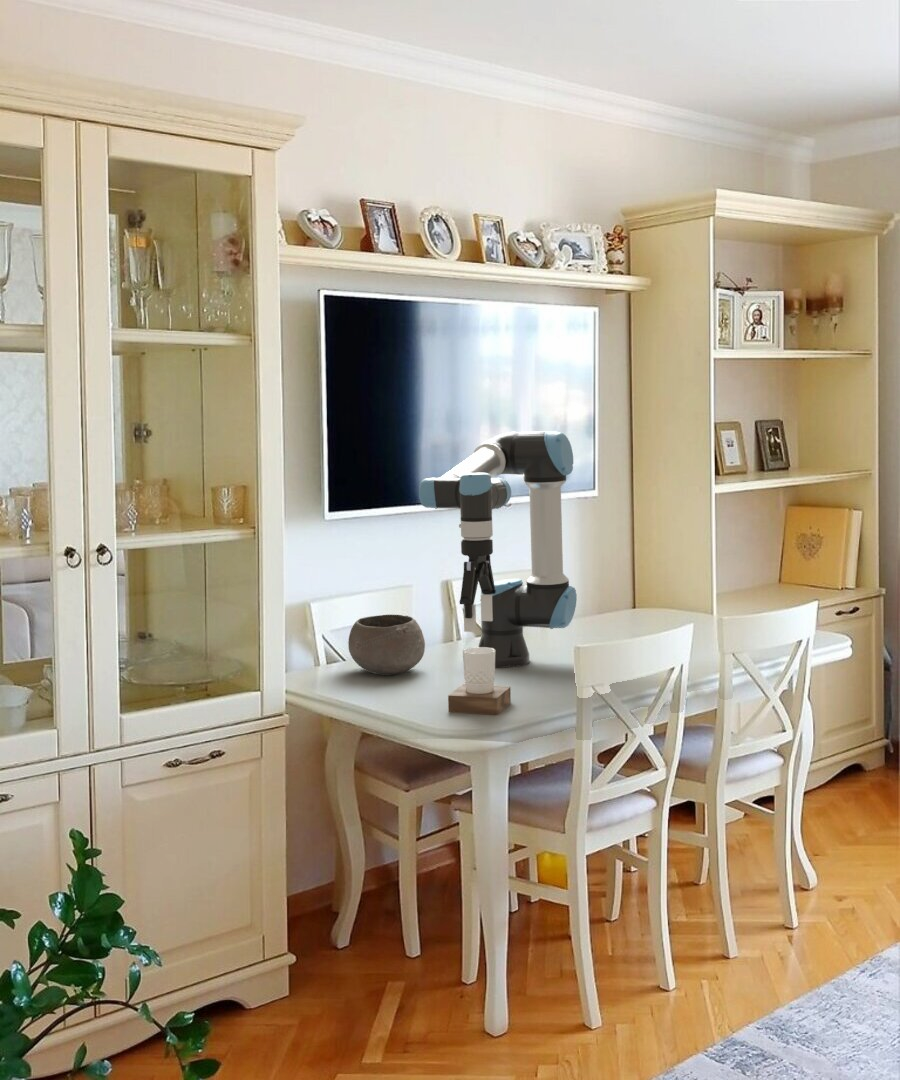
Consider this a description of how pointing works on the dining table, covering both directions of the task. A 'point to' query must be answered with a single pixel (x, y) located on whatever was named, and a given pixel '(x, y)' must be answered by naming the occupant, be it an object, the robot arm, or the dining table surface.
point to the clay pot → (386, 643)
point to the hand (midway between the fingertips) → (478, 626)
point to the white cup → (479, 669)
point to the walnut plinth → (479, 701)
